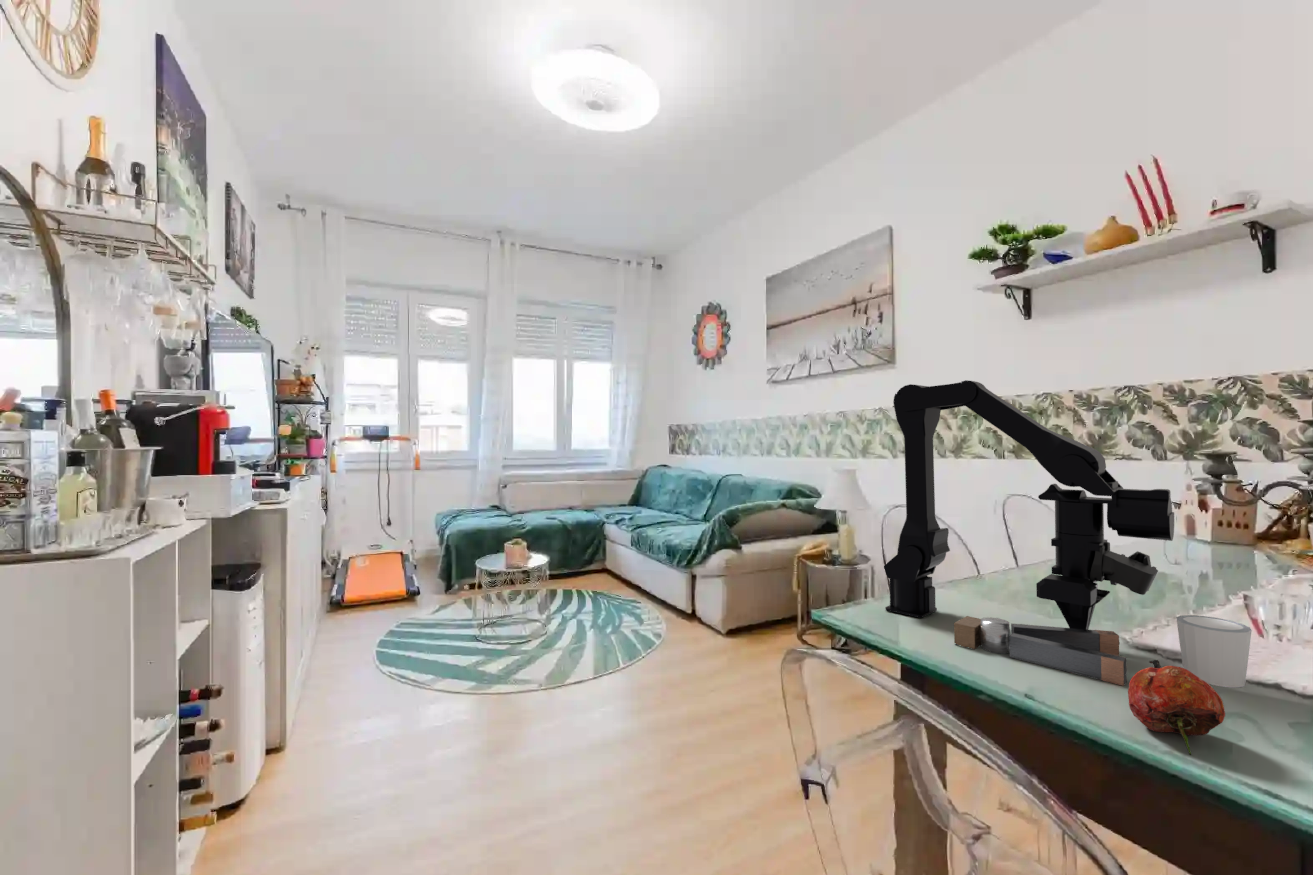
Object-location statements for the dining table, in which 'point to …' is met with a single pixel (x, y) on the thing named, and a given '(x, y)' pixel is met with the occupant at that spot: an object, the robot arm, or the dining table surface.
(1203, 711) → the wrinkled red fruit
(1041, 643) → the frame
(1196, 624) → the white cup
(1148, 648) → the dining table surface
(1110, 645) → the bar
